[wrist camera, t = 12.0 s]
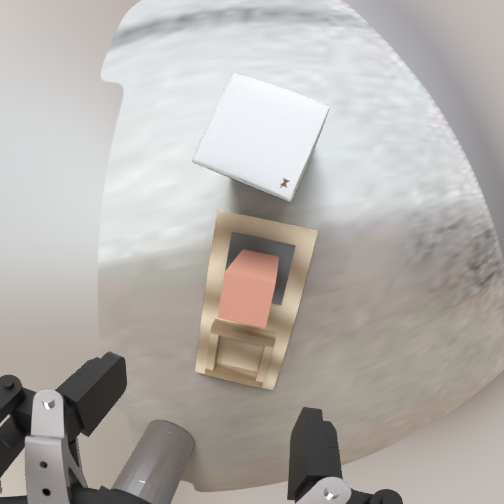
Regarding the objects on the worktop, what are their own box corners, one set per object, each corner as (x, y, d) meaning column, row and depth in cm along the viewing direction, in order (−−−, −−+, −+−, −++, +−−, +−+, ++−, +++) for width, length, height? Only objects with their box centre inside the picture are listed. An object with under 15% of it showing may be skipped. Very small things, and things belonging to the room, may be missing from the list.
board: (273, 385, 35) (272, 399, 32) (197, 367, 35) (190, 379, 33) (316, 230, 30) (319, 234, 27) (220, 210, 30) (213, 211, 28)
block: (271, 290, 30) (265, 328, 22) (236, 283, 31) (217, 317, 22) (279, 256, 29) (275, 283, 21) (242, 249, 30) (224, 272, 21)
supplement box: (315, 142, 28) (335, 107, 15) (289, 201, 29) (290, 206, 17) (254, 116, 28) (233, 69, 15) (228, 175, 30) (188, 163, 17)
